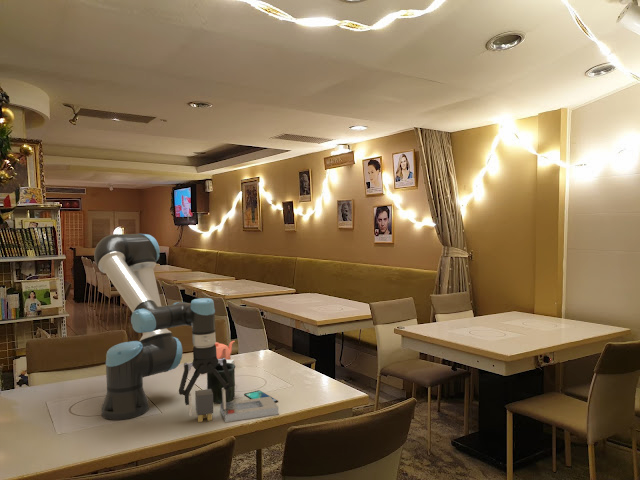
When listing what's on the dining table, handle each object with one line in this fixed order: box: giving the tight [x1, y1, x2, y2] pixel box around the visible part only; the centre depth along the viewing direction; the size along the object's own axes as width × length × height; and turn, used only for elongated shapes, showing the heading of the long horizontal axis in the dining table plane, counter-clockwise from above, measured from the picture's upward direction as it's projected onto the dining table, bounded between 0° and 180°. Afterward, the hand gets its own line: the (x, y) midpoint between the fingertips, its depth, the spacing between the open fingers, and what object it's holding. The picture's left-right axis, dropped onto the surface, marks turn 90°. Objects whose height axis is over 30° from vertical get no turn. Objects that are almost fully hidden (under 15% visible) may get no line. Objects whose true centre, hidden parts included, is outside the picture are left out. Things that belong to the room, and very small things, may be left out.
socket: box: [219, 396, 279, 423], centre depth 162 cm, size 18×11×3 cm, turn 111°
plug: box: [194, 388, 214, 423], centre depth 157 cm, size 5×5×9 cm
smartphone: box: [243, 390, 279, 404], centre depth 176 cm, size 7×1×15 cm
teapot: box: [215, 340, 236, 360], centre depth 218 cm, size 14×14×11 cm
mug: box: [206, 363, 236, 404], centre depth 177 cm, size 11×15×12 cm
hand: (207, 411), depth 157 cm, fingers open, 10 cm apart
